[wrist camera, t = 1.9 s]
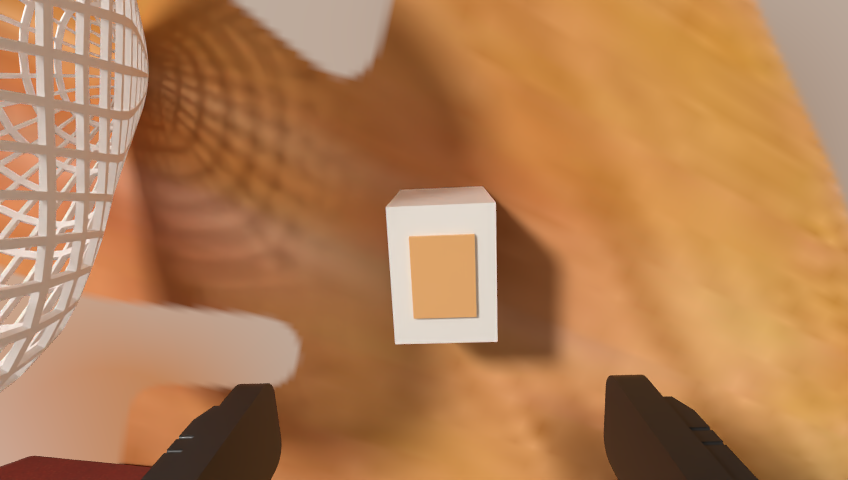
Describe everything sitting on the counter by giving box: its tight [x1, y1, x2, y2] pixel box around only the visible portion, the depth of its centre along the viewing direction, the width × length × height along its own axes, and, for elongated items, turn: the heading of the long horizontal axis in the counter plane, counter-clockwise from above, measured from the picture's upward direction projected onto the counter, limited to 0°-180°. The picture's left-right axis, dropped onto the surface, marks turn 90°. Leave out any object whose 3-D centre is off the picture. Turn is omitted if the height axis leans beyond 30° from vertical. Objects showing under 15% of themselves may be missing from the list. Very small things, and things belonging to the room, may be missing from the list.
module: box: [386, 186, 498, 344], centre depth 24 cm, size 7×5×7 cm
